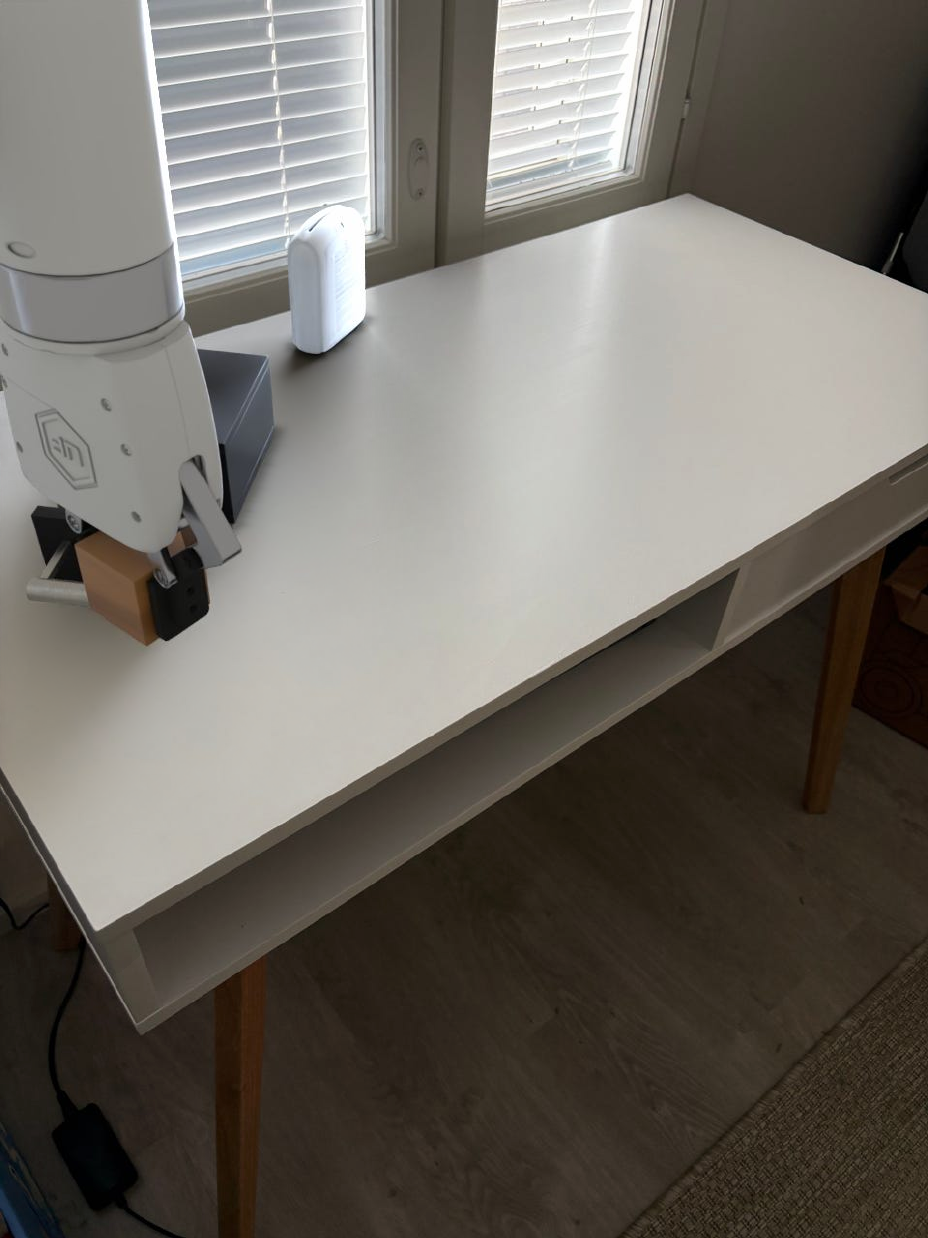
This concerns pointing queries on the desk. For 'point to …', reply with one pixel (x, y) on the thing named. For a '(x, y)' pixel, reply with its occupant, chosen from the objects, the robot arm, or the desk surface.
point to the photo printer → (326, 278)
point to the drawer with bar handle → (57, 560)
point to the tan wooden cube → (121, 583)
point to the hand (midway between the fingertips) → (149, 601)
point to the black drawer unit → (239, 419)
